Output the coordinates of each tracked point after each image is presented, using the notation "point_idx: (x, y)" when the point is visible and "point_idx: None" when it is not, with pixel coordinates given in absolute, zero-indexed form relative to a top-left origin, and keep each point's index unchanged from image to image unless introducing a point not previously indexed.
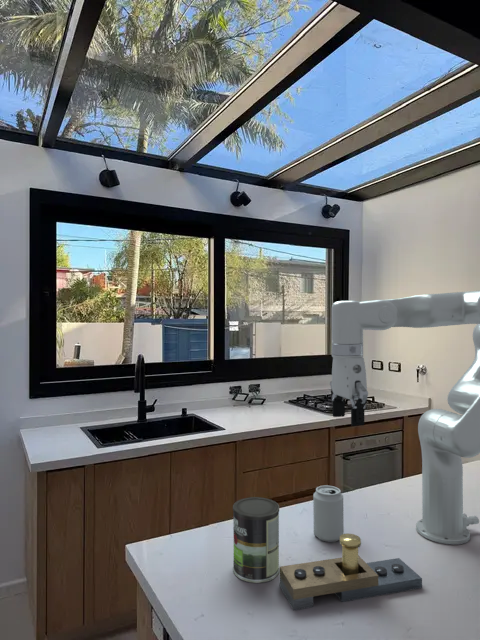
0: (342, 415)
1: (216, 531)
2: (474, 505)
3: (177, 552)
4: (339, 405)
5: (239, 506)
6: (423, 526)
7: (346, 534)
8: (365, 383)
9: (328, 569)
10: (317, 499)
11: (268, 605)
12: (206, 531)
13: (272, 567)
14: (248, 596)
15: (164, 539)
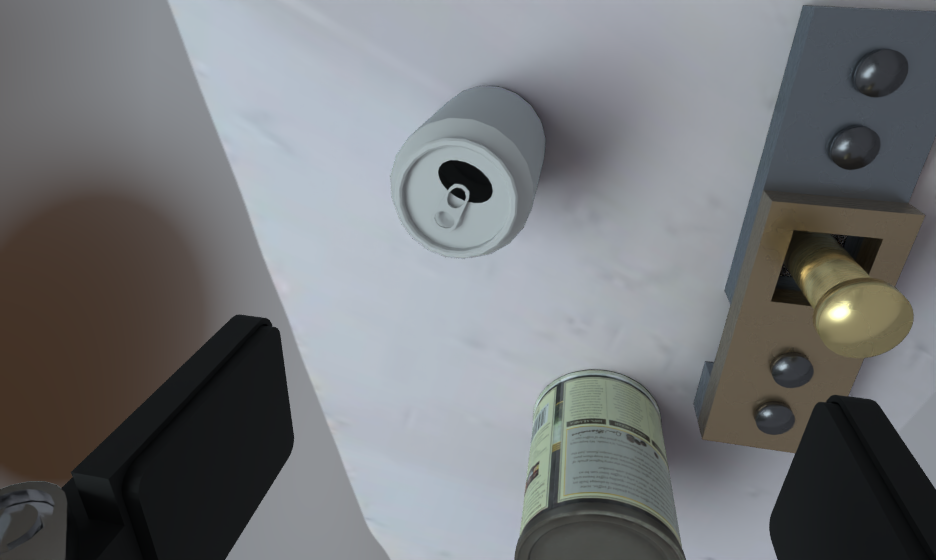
0: (276, 356)
1: (367, 430)
2: None
3: (450, 529)
4: (199, 504)
5: None
6: None
7: (829, 318)
8: None
9: (792, 336)
10: (481, 255)
11: (751, 454)
12: (361, 450)
13: (659, 426)
14: (695, 474)
15: (380, 534)
